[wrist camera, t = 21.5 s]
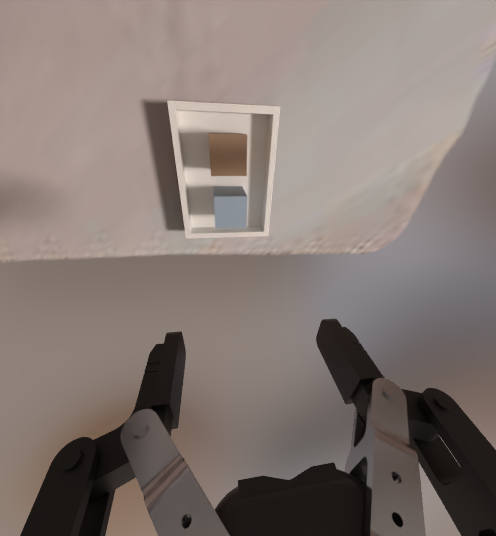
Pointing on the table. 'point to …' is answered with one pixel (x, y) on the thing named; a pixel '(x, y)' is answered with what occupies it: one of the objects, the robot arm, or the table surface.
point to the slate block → (230, 207)
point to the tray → (201, 182)
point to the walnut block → (228, 154)
